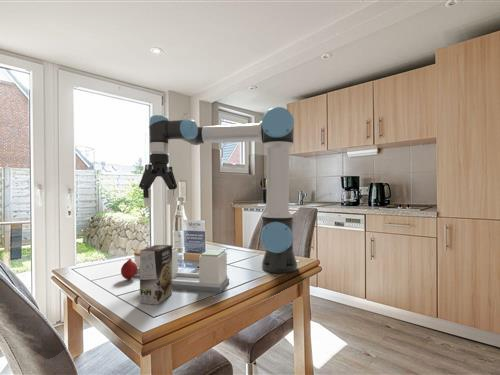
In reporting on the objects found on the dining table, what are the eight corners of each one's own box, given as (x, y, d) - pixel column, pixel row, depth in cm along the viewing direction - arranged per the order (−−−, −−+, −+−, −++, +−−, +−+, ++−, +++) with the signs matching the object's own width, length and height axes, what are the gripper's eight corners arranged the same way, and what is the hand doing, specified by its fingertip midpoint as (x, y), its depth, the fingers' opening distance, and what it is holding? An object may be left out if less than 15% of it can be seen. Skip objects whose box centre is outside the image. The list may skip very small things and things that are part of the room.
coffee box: (158, 305, 83) (158, 250, 83) (139, 303, 84) (138, 250, 84) (173, 293, 92) (172, 244, 92) (155, 292, 93) (155, 244, 93)
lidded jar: (137, 273, 114) (137, 250, 114) (131, 267, 122) (131, 246, 122) (163, 269, 120) (163, 247, 120) (155, 263, 129) (155, 243, 129)
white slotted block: (229, 282, 103) (229, 249, 103) (220, 292, 93) (220, 255, 93) (160, 277, 109) (160, 246, 109) (145, 286, 99) (145, 252, 99)
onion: (127, 283, 102) (127, 261, 102) (117, 280, 105) (117, 259, 105) (140, 279, 107) (140, 258, 107) (131, 276, 110) (131, 256, 110)
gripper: (171, 157, 128) (171, 203, 128) (128, 150, 105) (129, 207, 105) (184, 156, 125) (185, 203, 125) (144, 149, 102) (144, 207, 102)
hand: (159, 205), depth 115 cm, fingers open, 13 cm apart
